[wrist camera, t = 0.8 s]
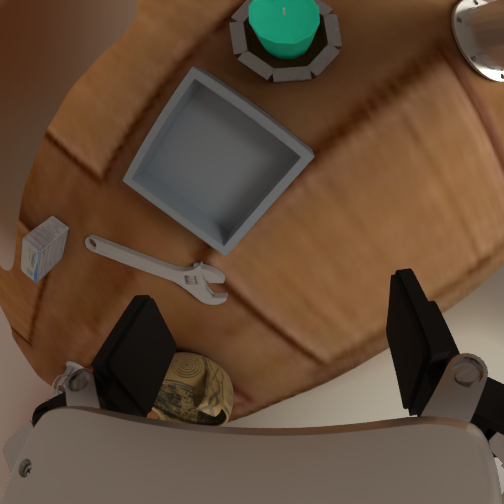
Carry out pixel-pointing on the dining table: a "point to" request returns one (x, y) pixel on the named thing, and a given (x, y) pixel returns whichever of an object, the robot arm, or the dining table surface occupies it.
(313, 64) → the collar
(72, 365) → the french press
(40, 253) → the medicine box
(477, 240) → the dining table surface
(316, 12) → the candle
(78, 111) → the dining table surface
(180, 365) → the ceramic bowl
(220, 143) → the bin
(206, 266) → the adjustable wrench
